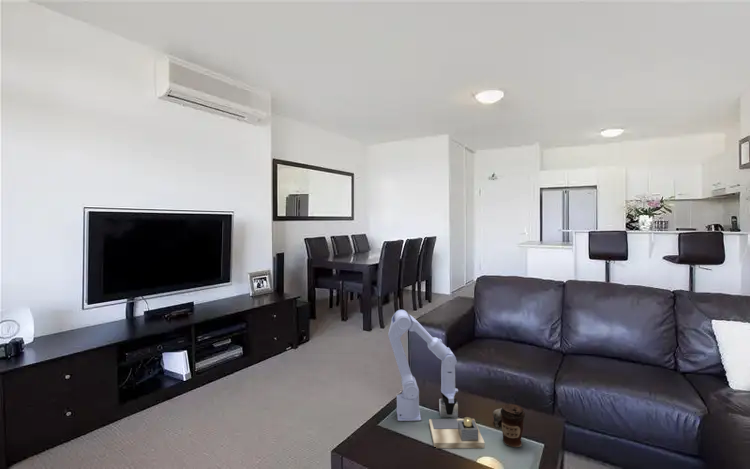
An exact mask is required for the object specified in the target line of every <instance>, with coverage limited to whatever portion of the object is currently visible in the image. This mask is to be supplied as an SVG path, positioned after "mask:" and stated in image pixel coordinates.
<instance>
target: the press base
mask: <svg viewBox="0 0 750 469" xmlns="http://www.w3.org/2000/svg"><path fill="white" fill-rule="evenodd" d="M471 419H472V428H464V418H429V419H428V425H429V429H430V435H431V439H432V444H433V447H436V448H435V449H485V447H486V446H485V443H486V442H485V440H484V438H483V436H482V434H481V431H480V429H479V427H478V425H477V423H476V420H475V418H471Z"/></svg>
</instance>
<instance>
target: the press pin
mask: <svg viewBox="0 0 750 469" xmlns="http://www.w3.org/2000/svg"><path fill="white" fill-rule="evenodd" d="M463 419H464V428H472V419H473V418H471V417H468V416H466V417H464V418H463Z"/></svg>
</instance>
